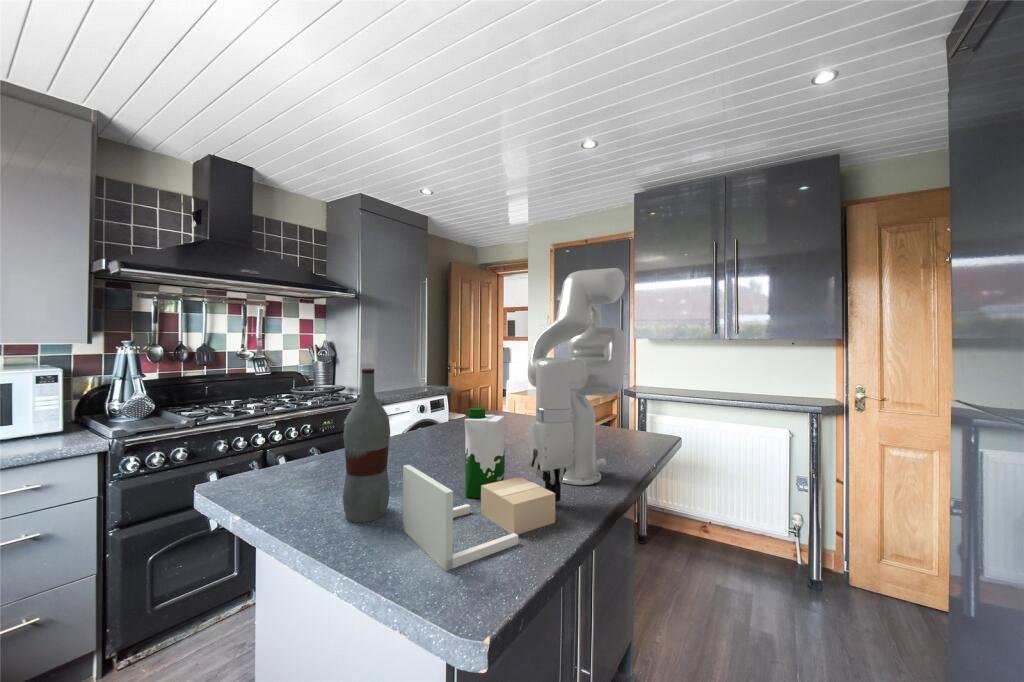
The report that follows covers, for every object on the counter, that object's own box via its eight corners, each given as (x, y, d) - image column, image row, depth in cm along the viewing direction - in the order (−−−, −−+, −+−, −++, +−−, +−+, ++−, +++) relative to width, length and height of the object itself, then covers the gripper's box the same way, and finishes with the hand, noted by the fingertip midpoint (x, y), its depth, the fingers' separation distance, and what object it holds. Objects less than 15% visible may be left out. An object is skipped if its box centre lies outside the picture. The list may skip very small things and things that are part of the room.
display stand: (467, 511, 83) (467, 453, 83) (518, 544, 69) (518, 475, 69) (402, 529, 75) (403, 465, 75) (445, 571, 61) (446, 492, 61)
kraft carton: (519, 503, 88) (519, 476, 88) (555, 523, 78) (555, 492, 78) (480, 514, 82) (481, 484, 82) (513, 537, 72) (513, 503, 72)
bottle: (337, 511, 82) (338, 368, 83) (380, 501, 88) (382, 367, 89) (349, 527, 75) (351, 370, 76) (396, 515, 81) (398, 369, 81)
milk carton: (472, 485, 98) (472, 405, 99) (507, 488, 97) (507, 406, 97) (460, 498, 90) (461, 411, 90) (499, 502, 88) (499, 412, 88)
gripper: (565, 410, 94) (565, 488, 94) (515, 416, 85) (515, 502, 85) (589, 414, 88) (589, 497, 88) (538, 421, 79) (538, 514, 79)
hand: (552, 499), depth 86 cm, fingers closed
